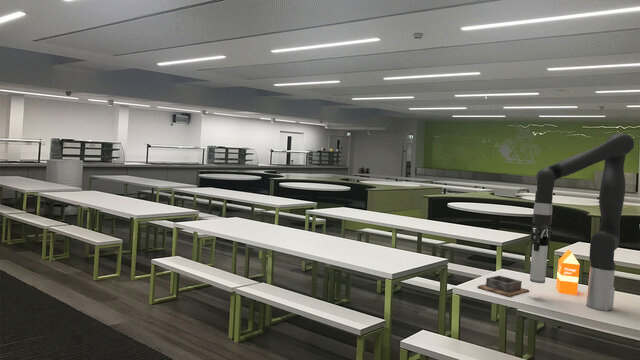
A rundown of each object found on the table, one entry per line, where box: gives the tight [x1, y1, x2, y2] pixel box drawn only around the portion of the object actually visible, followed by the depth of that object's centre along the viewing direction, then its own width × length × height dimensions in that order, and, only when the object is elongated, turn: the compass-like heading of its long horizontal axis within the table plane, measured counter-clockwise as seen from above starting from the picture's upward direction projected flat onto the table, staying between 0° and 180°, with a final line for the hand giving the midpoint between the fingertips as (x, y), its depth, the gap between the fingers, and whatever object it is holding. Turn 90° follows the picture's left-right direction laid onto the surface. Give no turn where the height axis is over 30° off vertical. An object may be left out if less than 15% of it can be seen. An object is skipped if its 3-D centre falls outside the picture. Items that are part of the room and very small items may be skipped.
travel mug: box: [529, 237, 549, 284], centre depth 210 cm, size 6×7×20 cm
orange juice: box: [555, 249, 581, 296], centre depth 226 cm, size 8×9×20 cm
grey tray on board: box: [477, 275, 530, 298], centre depth 221 cm, size 16×18×5 cm
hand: (539, 250), depth 209 cm, fingers closed on travel mug, 6 cm apart
